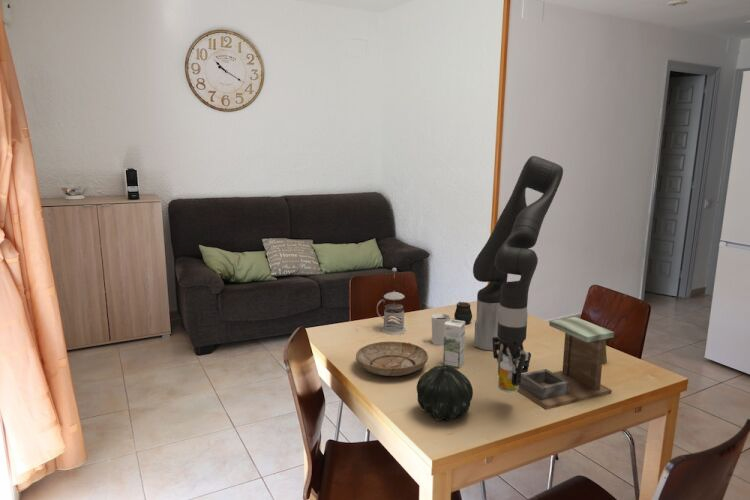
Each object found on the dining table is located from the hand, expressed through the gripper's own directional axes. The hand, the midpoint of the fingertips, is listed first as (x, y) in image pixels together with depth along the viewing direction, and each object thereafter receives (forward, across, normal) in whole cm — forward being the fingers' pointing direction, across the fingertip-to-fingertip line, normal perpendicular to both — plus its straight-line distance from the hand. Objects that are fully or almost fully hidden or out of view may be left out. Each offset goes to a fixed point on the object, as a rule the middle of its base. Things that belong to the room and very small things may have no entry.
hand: (508, 379), depth 143 cm
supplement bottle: (+3, 0, 0) cm, 3 cm away
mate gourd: (+9, +65, -27) cm, 71 cm away
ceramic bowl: (+9, +36, +18) cm, 41 cm away
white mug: (+9, +49, -7) cm, 50 cm away
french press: (+9, +68, +4) cm, 69 cm away
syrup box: (+8, +30, -1) cm, 32 cm away
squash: (+8, +4, +18) cm, 20 cm away
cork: (+8, +14, -47) cm, 50 cm away
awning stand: (+8, +2, -22) cm, 23 cm away
